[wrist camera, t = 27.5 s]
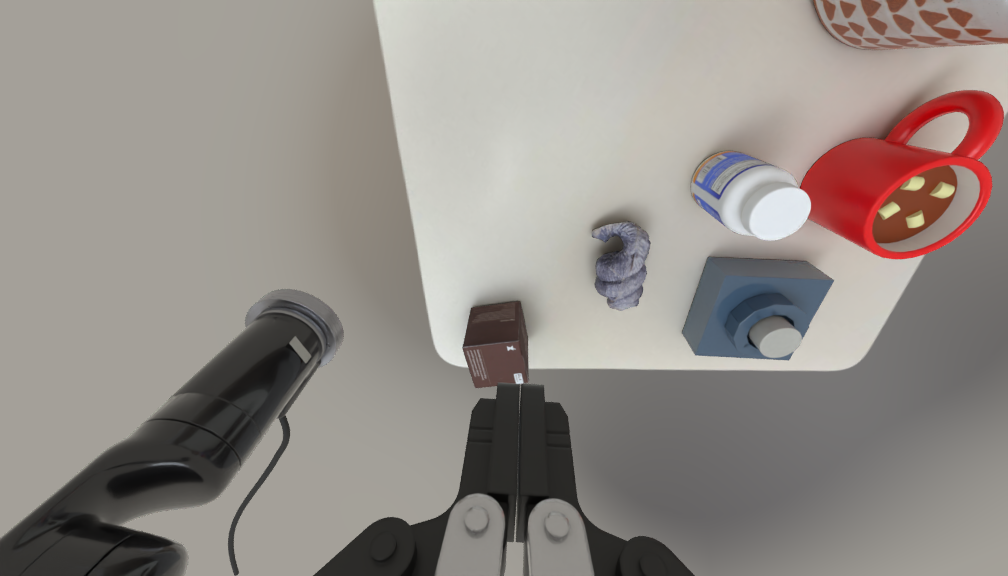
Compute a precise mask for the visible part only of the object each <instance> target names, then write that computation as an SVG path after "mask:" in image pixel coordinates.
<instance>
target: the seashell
mask: <svg viewBox="0 0 1008 576" xmlns="http://www.w3.org/2000/svg"><path fill="white" fill-rule="evenodd" d="M613 236H619V237H620V238H621V239H622V241H623V244H624V246H623V249H622V250H621V251H620V252H619V251H616V252H610V253H607V254H604V255H602V256H601V257H600V258H599V259H598V261H597V262H596V274H597V277H596V280H595V288H596V290H597V292H598V293H599V294H601V295H603V296H605V297H607V298H608V299H607V303H608V305H609V307H610V308H612V309H617V310H620V311H622V310H624V309H628V308H630V307H634V306H637V305H638V304H639V298H640V297H641V295H642V292H643V287H642V283H643V282H644V280H645V277H646V274H647V271H646V266H645V265H644V261H645V260H646V257H647V254H648V251H649V249H650V241H649V235H648V233H647V232H646V231H644V230H642V229H641V228H640V227H639V226H638V225H636V224H634V223H633V222H629V221H628V222H622V223H613V224H608V225H604V226H602V227H599V228H597V229H595V230H592V237H593V238H597V239H600V240H603V241H604V242H605V243H606V242H607V241H608V239H609V238H610V237H613Z"/></svg>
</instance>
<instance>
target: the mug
mask: <svg viewBox="0 0 1008 576" xmlns="http://www.w3.org/2000/svg"><path fill="white" fill-rule="evenodd" d="M952 112H961V113H964V114H966V115H967V116H968V119H969V128H968V131H967V134H966V136H965V137H964V139H963V141H962V142H961V143H960V144H959V146H958V147H957V148H956V149H955V150H954V151H953V152H952V153H946V152H941V151H936V150H931V149H926V148H921V147H916V146H911V145H906V144H907V142H908V141H909V139H910V138H911V137H912V136H913V135H914V134H915V133H916V132H917V131H918V130H919V129H920V128H921V127H922V126H924V125H925V124H927V123H928V122H930V121H931V120H933V119H935V118H937V117H939V116H942V115H945V114H948V113H952ZM1003 119H1004V112H1003V108H1002V106H1001V104H1000V102H999V101H998V100H997V99H996V98H995V97H994V96H993V95H991V94H989V93H987V92H984V91H977V90H963V91H956V92H951V93H948V94H945V95H942V96H939V97H937V98H934V99H932V100H930V101H928V102H926V103H925V104H923V105H921V106H920V107H918V108H917V109H915V110H914V111H912V112H911V113H909V114H908V115H907V116H906V117H904V118H903V119H902V120H901V121H900V122H899V123H898V124H897V125H896V126H895V127H894V128H893V129H892V131H891V132H890V133H889V134H888V136H887V137H886V139H885V140H881V139H876V138H859V139H854V140H850V141H848V142H845V143H842V144H840V145H838V146H836V147H835V148H833V149H831V150H830V151H828V152H827V153H826V154H824V155H823V156H822V157H821V158H820V159H819V160H818V161H817V162H815V163H814V165H813V166H812V167H811V168H810V170H809V171H808V172H807V174H806V176H805V178H804V179H803V181H802V184H801V187H800V189H802V190H803V191H805V192H806V193H807V195H808V196H809V198H810V201H811V210H810V213H809V216H808V218H809V219H810V220H812V221H814V222H815V223H817V224H819V225H821V226H823V227H825V228H827V229H829V230H830V231H832V232H834V233H836V234H838V235H840V236H842V237H844V238H845V239H847V240H849V241H851V242H853V243H855V244H857V245H858V246H860V247H862V248H864V249H866V250H868V251H870V252H872V253H873V254H876V255H878V256H880V257H883V258H889V259H907V258H913V257H917V256H920V255H924V254H927V253H929V252H931V251H934V250H936V249H939V248H940V247H942V246H944V245H946V244H947V243H949V242H951V241H952V240H954V239H955V238H956V237H958V236H959V235H961V234H962V233H963V232H964V231H965V230H966V229H968V228H969V227H970V226H971V225H972V224H973V222H974V221H975V220H976V219H977V218H978V217H979V215H980V214H981V212H982V211H983V209H984V208H985V206H986V204H987V202H988V199H989V198H990V194H991V189H992V177H991V175H990V172H989V170H988V168H987V167H986V166H985V165H984V164H983V163H982V162H980V161H978V159H980V158H981V157H982V156H983V155H984V154H985V153H986V151H987V150H988V149H989V148H990V146H991V145H992V144H993V143H994V141H995V140H996V138H997V136H998V134H999V132H1000V130H1001V127H1002V124H1003Z"/></svg>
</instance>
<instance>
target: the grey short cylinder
mask: <svg viewBox="0 0 1008 576" xmlns="http://www.w3.org/2000/svg"><path fill="white" fill-rule="evenodd" d="M749 338H750V340H751V341H752V343H753V344H754V345H755V346H756V347H757V349H758V350H759V351H760V352H761V353H762V354H763V355H764V356H766V357H770V358H779V357H784V356H786V355H789V354H790V353H792V352H794V351H795V350H796V349H797V348H798V347H799V345H800V344H801V341H802V336H801V334H800V332H799V331H798V330H797V329H796V328H795V327H794V326H793V325H792V324H791V323H790V322H789V321H788V320H787V319H785V318H784V317H781V316H769V317H766V318H763V319H760V320H759V321H758V322H757V323H755V324H754V325H753V326H752V327H751V328H750V330H749Z"/></svg>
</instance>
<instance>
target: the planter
mask: <svg viewBox="0 0 1008 576" xmlns="http://www.w3.org/2000/svg"><path fill="white" fill-rule="evenodd" d="M813 1H814V5H815V9H816V11H817V14H818V16H819V18H820V20H821V22H822V24H823V25H824V27H825V28H826V29H827V30H828V32H829V33H830V34H831V35H832V36H834V37H835V38H836V39H838V40H839V41H841V42H843V43H845V44H847V45H849V46H852V47H855V48H860V49H867V50H887V49H907V48H926V47H946V46H966V45H985V44H1005V43H1008V0H813Z"/></svg>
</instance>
